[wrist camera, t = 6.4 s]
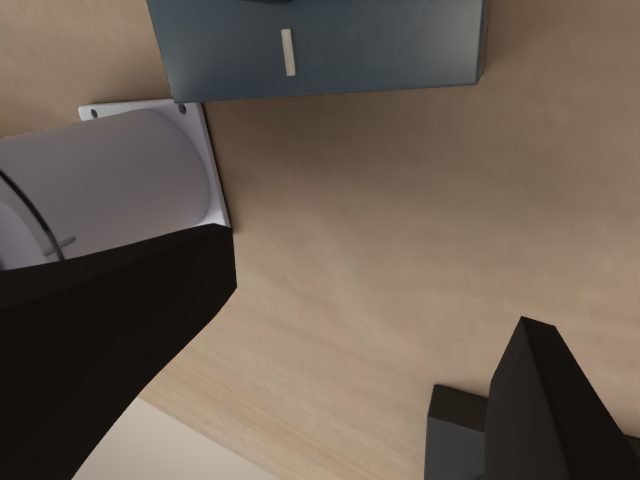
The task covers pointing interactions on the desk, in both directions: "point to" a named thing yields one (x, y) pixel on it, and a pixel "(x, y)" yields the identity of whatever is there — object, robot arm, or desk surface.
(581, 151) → the desk surface
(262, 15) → the dial panel
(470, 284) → the desk surface
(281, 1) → the dial
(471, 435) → the button housing
